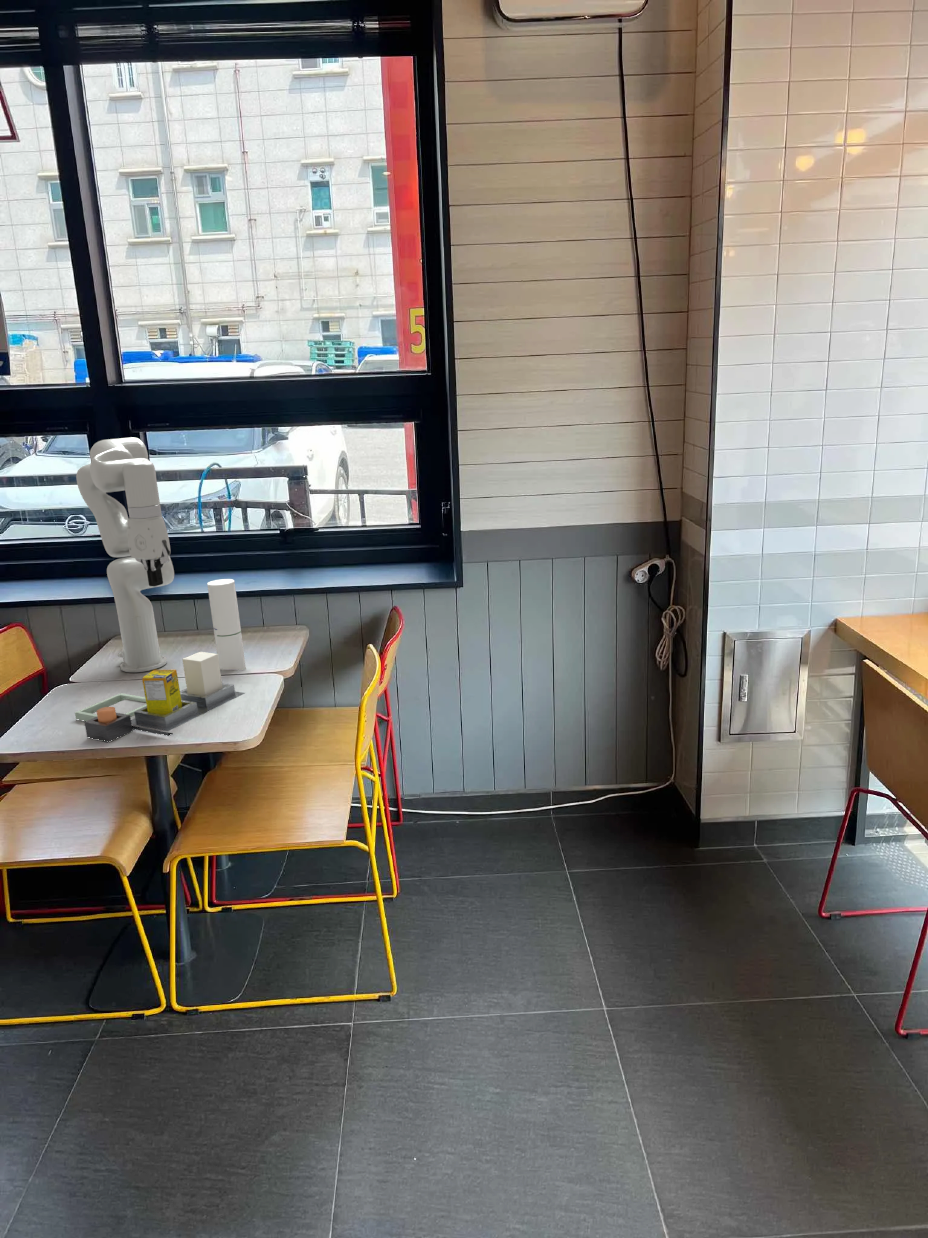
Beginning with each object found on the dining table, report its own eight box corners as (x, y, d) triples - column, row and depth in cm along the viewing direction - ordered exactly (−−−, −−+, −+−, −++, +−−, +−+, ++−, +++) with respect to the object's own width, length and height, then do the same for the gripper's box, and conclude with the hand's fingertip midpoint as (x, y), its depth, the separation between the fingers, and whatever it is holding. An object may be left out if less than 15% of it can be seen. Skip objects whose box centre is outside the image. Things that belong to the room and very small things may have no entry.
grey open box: (125, 727, 211) (123, 712, 210) (204, 690, 233) (202, 677, 232) (168, 736, 204) (166, 720, 203) (245, 697, 226) (244, 683, 225)
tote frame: (76, 720, 218) (74, 712, 217) (121, 700, 229) (120, 693, 229) (116, 728, 211) (114, 720, 210) (161, 707, 223) (160, 699, 222)
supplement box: (183, 712, 215) (177, 668, 212) (172, 721, 210) (165, 677, 207) (160, 712, 216) (153, 669, 213) (148, 721, 211) (141, 677, 208)
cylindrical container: (237, 663, 253) (225, 577, 247) (250, 668, 248) (239, 581, 242) (214, 670, 249) (202, 583, 242) (227, 675, 244) (215, 586, 237)
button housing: (87, 738, 206) (84, 722, 205) (111, 727, 212) (109, 711, 211) (108, 742, 203) (105, 726, 201) (132, 731, 208) (130, 715, 207)
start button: (95, 728, 206) (92, 711, 205) (109, 722, 209) (106, 705, 208) (107, 731, 204) (104, 714, 203) (121, 725, 207) (118, 708, 206)
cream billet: (188, 701, 223) (182, 658, 220) (205, 692, 228) (200, 651, 225) (206, 704, 220) (200, 661, 217) (223, 695, 225) (217, 654, 222)
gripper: (111, 514, 220) (123, 586, 225) (155, 516, 213) (166, 590, 218) (135, 509, 226) (146, 579, 231) (178, 510, 219) (189, 583, 224)
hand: (156, 584), depth 225 cm, fingers closed
